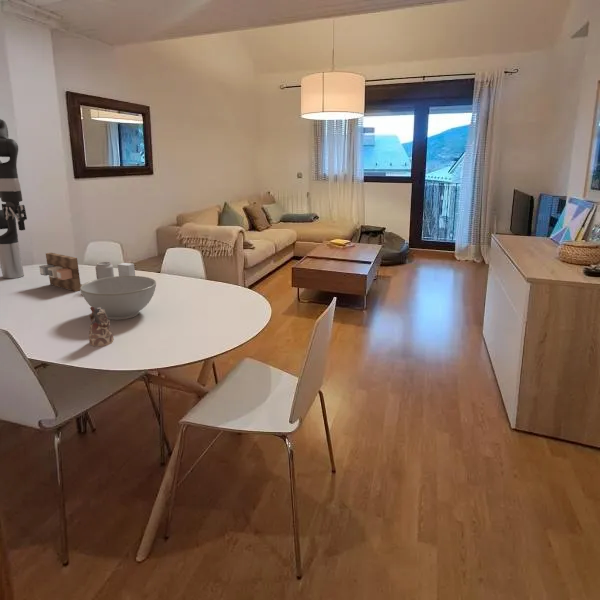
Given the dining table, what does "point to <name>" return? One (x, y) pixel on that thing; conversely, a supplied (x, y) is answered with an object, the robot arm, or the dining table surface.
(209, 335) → the dining table surface
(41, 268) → the key slate
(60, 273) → the key terracotta
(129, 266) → the skincare box
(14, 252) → the robot arm
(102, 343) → the figurine
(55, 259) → the key panel
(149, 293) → the decorative bowl
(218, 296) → the dining table surface
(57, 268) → the key ivory
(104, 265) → the can
